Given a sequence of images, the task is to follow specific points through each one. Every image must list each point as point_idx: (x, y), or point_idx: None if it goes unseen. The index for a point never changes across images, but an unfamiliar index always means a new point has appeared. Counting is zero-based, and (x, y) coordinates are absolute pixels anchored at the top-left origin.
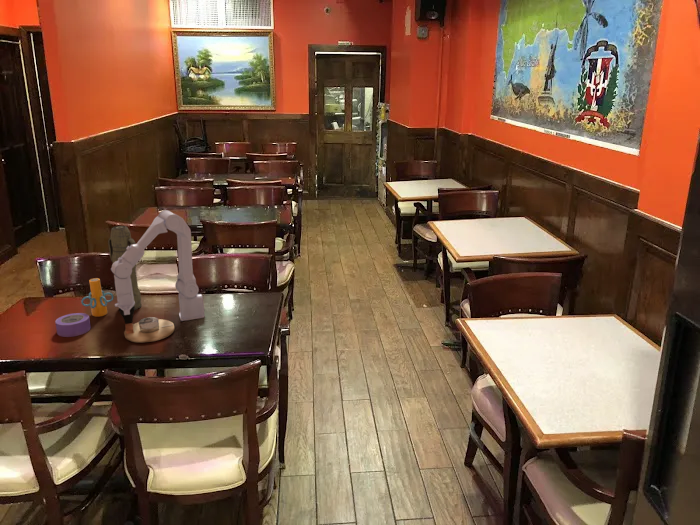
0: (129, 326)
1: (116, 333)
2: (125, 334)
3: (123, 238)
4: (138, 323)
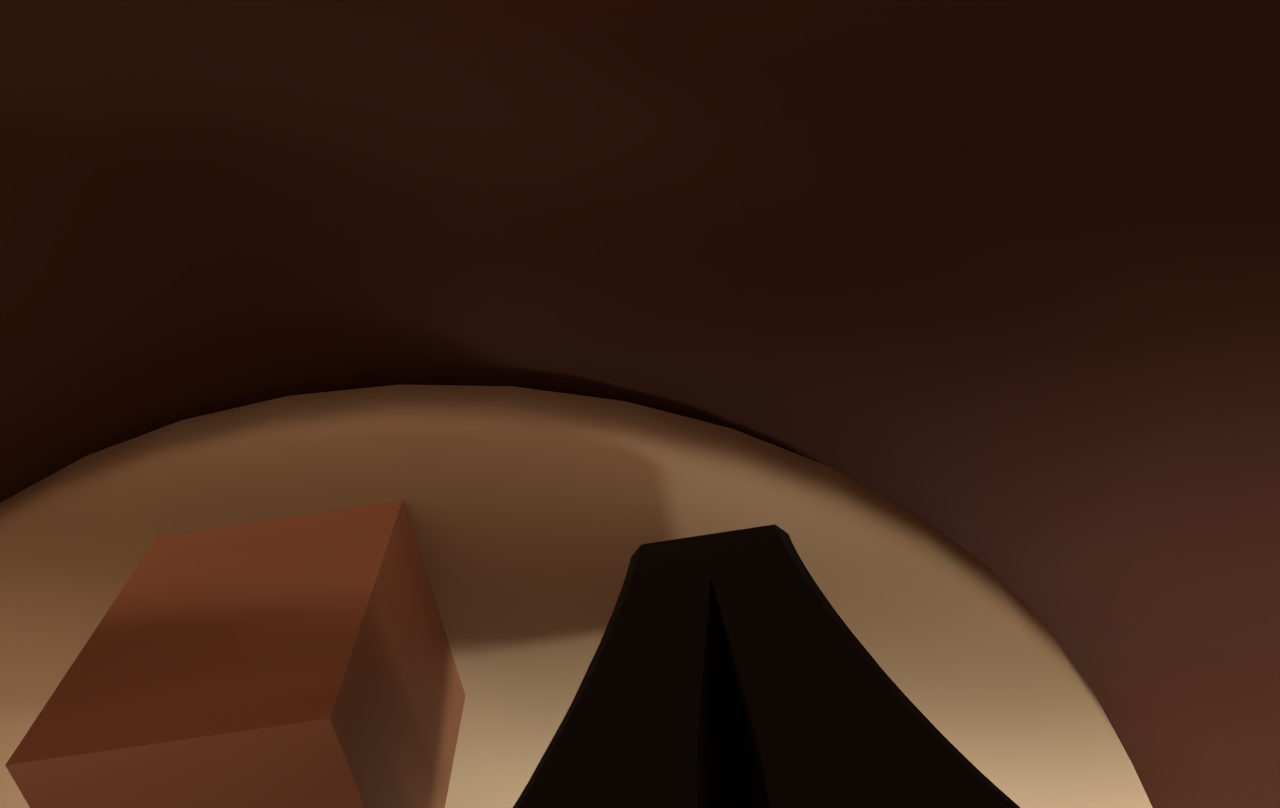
0: None
1: (668, 23)
2: (105, 513)
3: None
4: (1010, 763)
